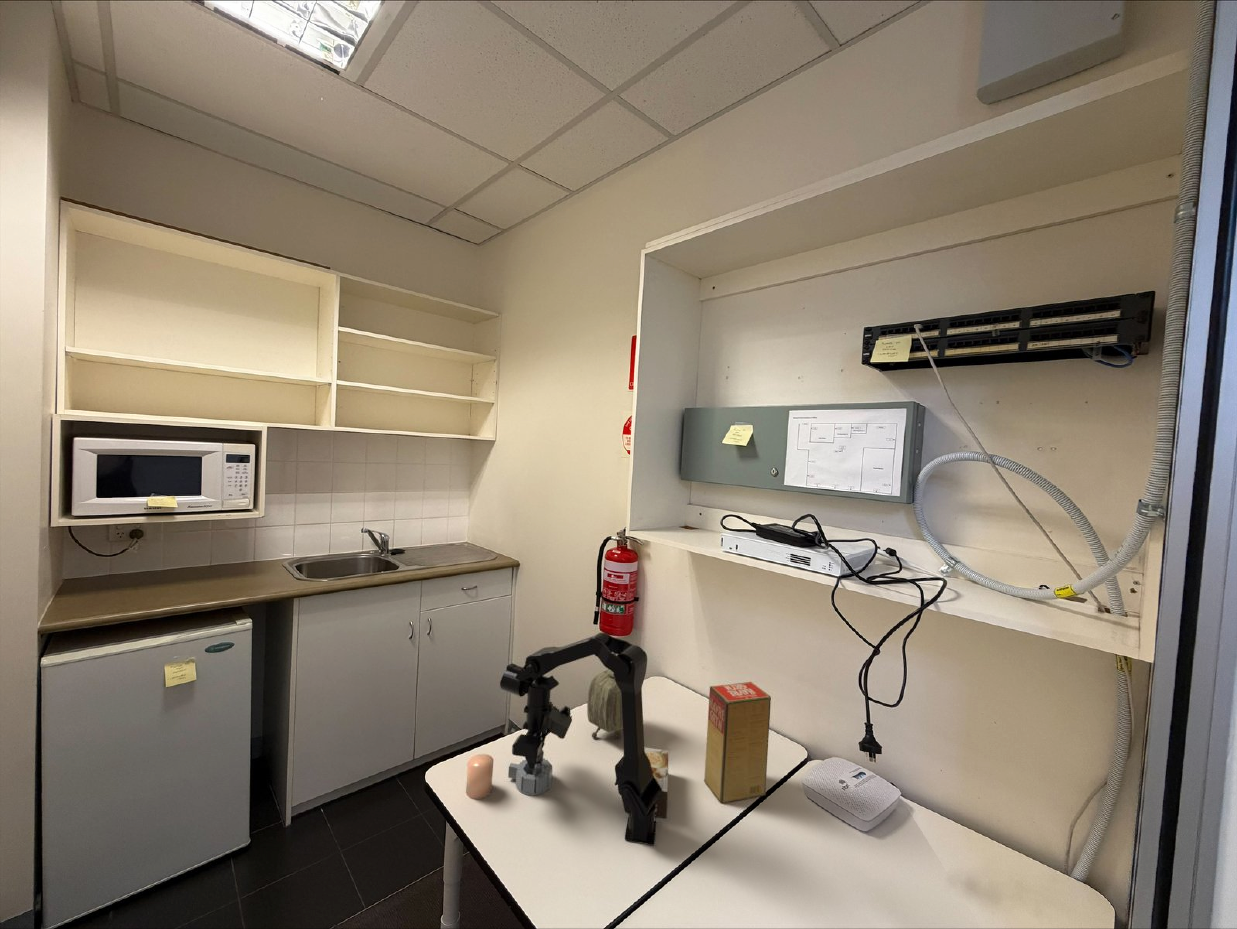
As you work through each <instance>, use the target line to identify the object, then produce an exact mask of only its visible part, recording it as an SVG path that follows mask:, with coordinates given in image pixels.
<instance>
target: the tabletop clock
mask: <svg viewBox="0 0 1237 929" xmlns="http://www.w3.org/2000/svg"><path fill="white" fill-rule="evenodd" d="M613 654H615V655H616V656H617V654H616V653H613ZM587 694H588V695H587V702H586V703H587V704H586V705H587V710H586V713H587V714H586V715H587V719H588V722H589V723H591V724H593V725H594V726H596V727H597V728H596V730H595V731H593V732H592V733H591V737H592V739H596V738H597V736H598V733H599V731H600V730H601V729H602V730H603V731H605V732H607V733H614V732H615V738H617V739H620V738H621V736H622V734H621V732H620V730H623V728H622V706H621V691H620V689H619V687H618V686H617V684H616V682H615V679H614V674H613V672H612V671H611V670H609V669H608V668H607V669H606V670H603V671H602V672H600V673H599V674H597V675H595V676H593V678H592V679H591V680H590V684H589V688H588V693H587Z"/></svg>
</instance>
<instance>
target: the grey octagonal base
mask: <svg viewBox="0 0 1237 929" xmlns="http://www.w3.org/2000/svg"><path fill="white" fill-rule="evenodd" d="M532 770H533V769H531V768H530V767H529V765H528V763H527V761H526V759H523V760H521V761H520V763H514V762H513V763H512V762H510V763H509V766H508V775H507V777H508V778H510V779H515V787H516V789H517V791H518V792H519V793H521V794H523V795H525V796H538V795H541V794H544V793H546V792H547V791H548V790H549V789H550V788H551V786H552V783H553V782H552V780H553V764H551V763H550V761H549V760H548V759H546V758H544V757H543V761H542V762H541V763H538V764H537V771H536V772H538V773H540V774H538V775H530V774H529V773H531V772H532Z"/></svg>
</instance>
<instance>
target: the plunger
mask: <svg viewBox="0 0 1237 929" xmlns="http://www.w3.org/2000/svg"><path fill="white" fill-rule="evenodd" d="M544 753H545V752H544V750H543V749H542V750H541V751H540V753H539V755H538V757H537V760H536V764H535V768H534V769H533V770H532V772H531V773H529V774H530V775H538V774H540V773H538V772H536V771H537V764H538V763H541V762H542V761H543V758H544V755H545V754H544Z"/></svg>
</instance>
